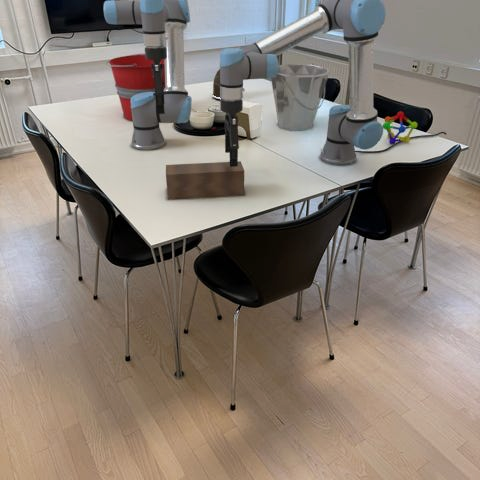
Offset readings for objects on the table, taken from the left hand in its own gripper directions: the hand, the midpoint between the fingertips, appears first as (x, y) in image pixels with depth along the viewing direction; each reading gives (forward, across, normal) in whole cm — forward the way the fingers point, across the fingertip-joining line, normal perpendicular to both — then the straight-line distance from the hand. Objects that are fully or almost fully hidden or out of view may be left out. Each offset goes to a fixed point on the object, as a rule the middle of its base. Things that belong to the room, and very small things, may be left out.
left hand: (160, 108), depth 164 cm
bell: (+26, +117, -38) cm, 126 cm away
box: (+26, -18, -14) cm, 35 cm away
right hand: (+14, -18, -24) cm, 33 cm away
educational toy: (+26, +23, -108) cm, 114 cm away
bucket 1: (+26, +84, +11) cm, 89 cm away
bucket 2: (+26, +56, -67) cm, 91 cm away
